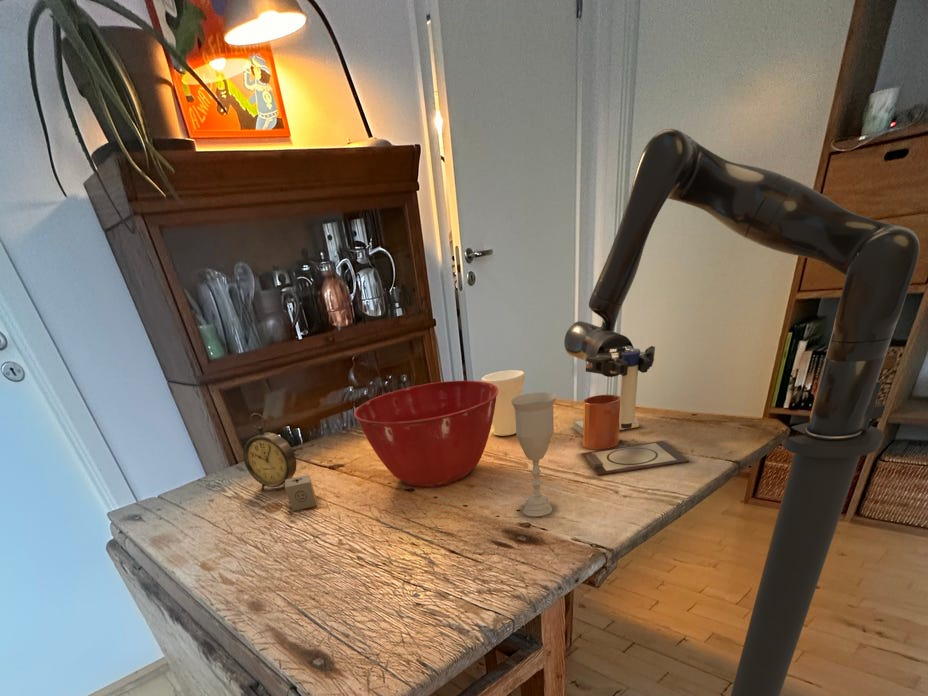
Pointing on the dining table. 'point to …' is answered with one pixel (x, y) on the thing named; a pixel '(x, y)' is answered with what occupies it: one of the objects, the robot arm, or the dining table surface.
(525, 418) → the chalice
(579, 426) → the hard drive
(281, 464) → the alarm clock
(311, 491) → the grey cube
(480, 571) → the dining table surface
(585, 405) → the pen cup
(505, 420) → the cup
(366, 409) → the mixing bowl
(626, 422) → the marker
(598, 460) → the brown tray
